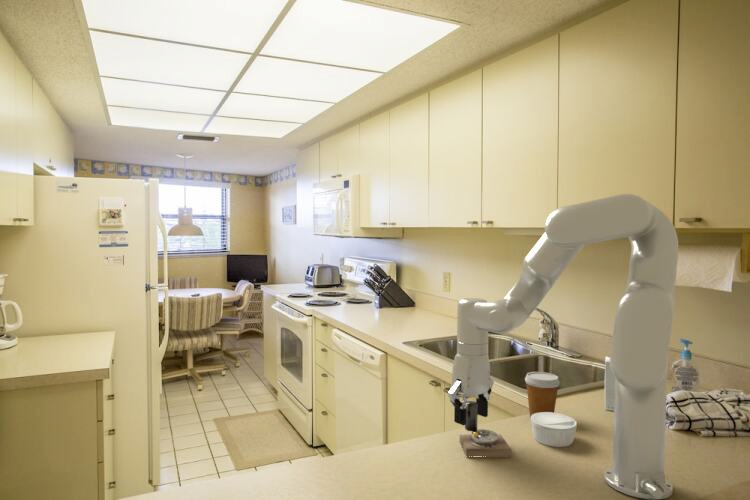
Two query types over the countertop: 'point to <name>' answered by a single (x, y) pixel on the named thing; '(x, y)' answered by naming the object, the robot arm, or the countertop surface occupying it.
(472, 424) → the capstan dial
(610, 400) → the skincare box
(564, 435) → the ramekin
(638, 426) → the robot arm
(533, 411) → the disposable coffee cup
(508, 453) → the level stand
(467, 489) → the countertop surface
